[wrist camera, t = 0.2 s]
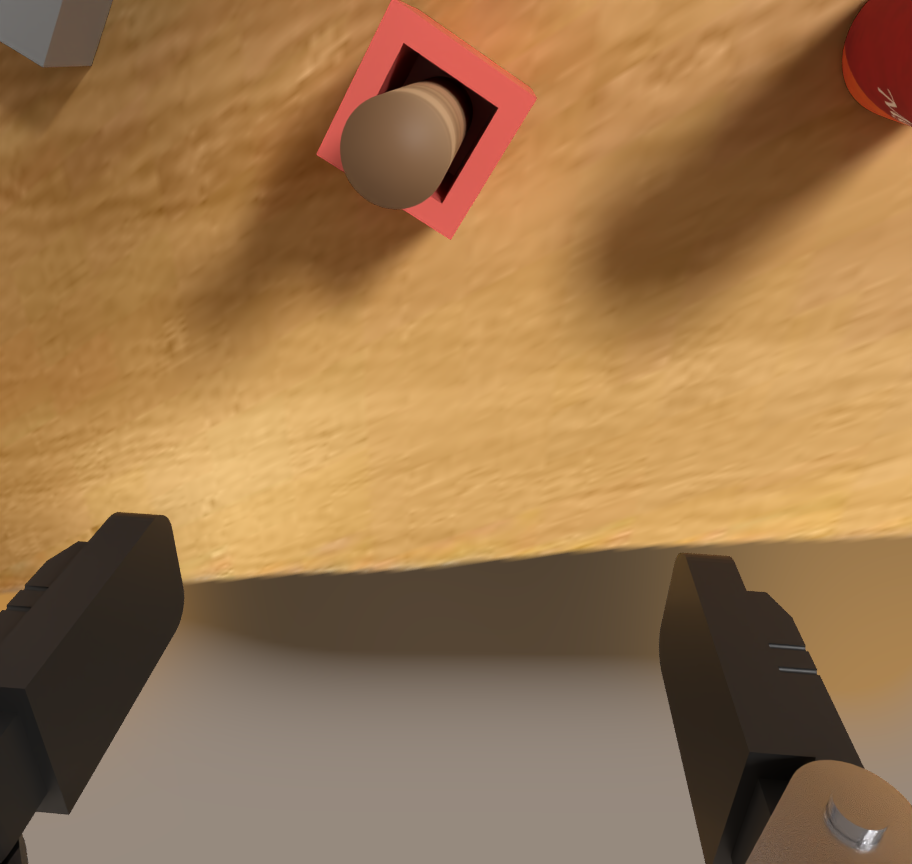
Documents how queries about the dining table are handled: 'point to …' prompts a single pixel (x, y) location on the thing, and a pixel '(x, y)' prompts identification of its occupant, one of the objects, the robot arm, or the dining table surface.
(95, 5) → the holder
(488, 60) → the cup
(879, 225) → the dining table surface
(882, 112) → the paper cup
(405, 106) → the dowel
